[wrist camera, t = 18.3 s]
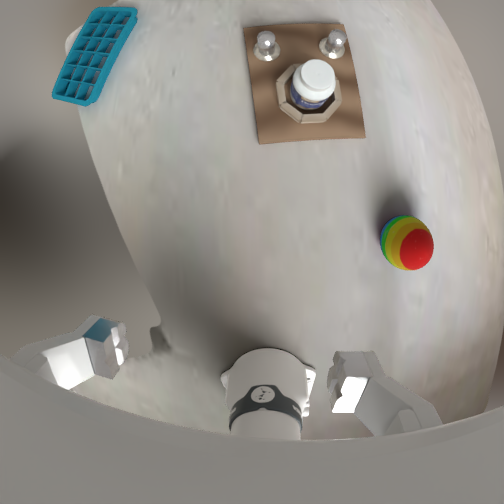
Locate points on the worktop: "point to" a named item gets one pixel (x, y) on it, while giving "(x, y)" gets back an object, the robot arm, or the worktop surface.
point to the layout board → (279, 82)
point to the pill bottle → (312, 84)
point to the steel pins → (328, 46)
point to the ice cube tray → (68, 86)
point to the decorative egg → (406, 242)
